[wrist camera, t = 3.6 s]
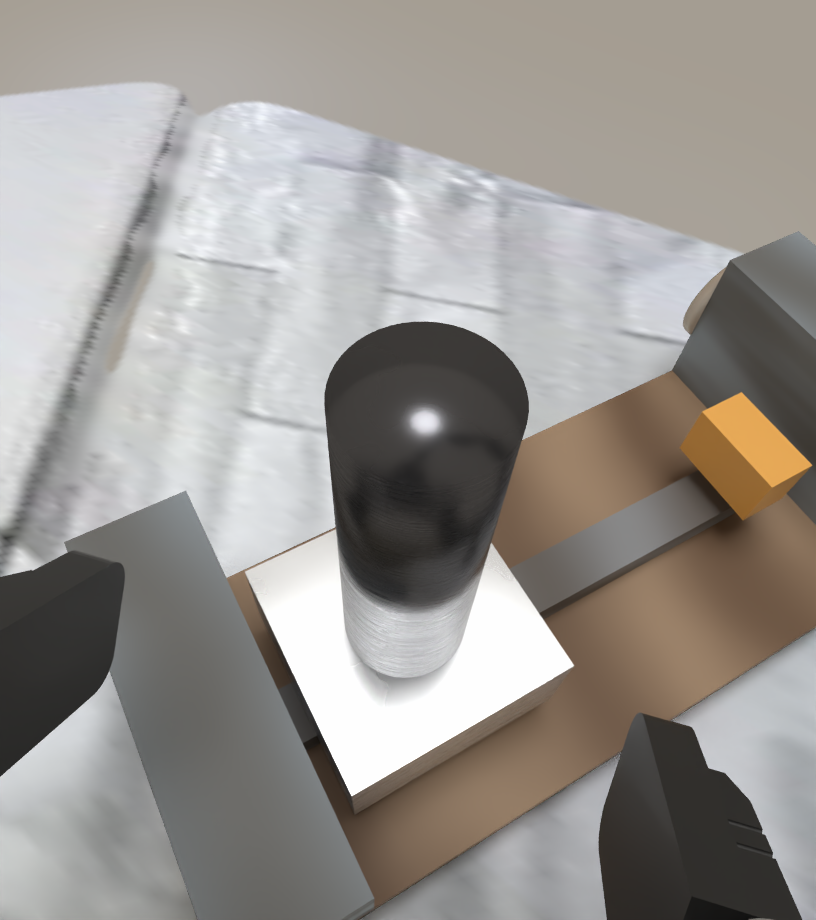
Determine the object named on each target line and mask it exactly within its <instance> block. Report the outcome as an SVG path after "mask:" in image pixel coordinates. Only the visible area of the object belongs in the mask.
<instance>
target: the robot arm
mask: <svg viewBox="0 0 816 920" xmlns="http://www.w3.org/2000/svg"><path fill="white" fill-rule="evenodd" d="M124 583H125V571H124V567H123V565H122V564H121V563H119V562H115V561H112V560H108V559H105V558H101V557H98V556H94V555H91V554H87V553H84V552H80V551H76V550H74V551H70V552H68V553H66V554H64V555H62V556H60V557H58V558H57V559H55V560H53V561H51V562H49V563H47V564H45V565H43V566H41V567H39V568H37V569H35V570H34V571H32V570H30V571H25V572H21V573H16V574H12V575H8V576H3V577H0V776H1V775H3V774H4V773H5V772H6V771H7V770H8V769H9V768H11V767H12V766H13V765H14V764H15V763H16V762H17V761H19V760H20V759H21V758H22V757H23V756H24V755H25V754H27V753H28V752H29V751H30V750H31V749H32V748H33V747H35V746H36V745H37V744H38V743H39V742H40V741H41V740H43V739H44V738H45V737H46V736H47V735H48V734H49V733H51V732H52V731H53V730H54V729H55V728H56V727H57V726H59V725H60V724H61V723H62V722H63V721H64V720H65V719H67V718H68V717H69V716H70V715H71V714H72V713H73V712H75V711H76V710H77V709H78V708H79V707H80V706H81V705H83V704H84V703H85V702H86V701H87V700H88V699H89V698H91V697H92V696H93V695H94V694H95V693H96V692H97V690H98V689H99V688H100V687H101V685H102V684H103V682H104V680H105V678H106V676H107V674H108V672H109V670H110V667H111V664H112V661H113V657H114V652H115V645H116V638H117V631H118V624H119V618H120V611H121V604H122V597H123V590H124ZM762 830H763V829H762V827H761V824H760V822H759V820H758V818H757V815H756V813H755V811H754V809H753V806H752V804H751V802H750V800H749V799H748V798H747V797H746V796H745V795H744V794H743V793H742V792H741V790H740V789H739V788H738V787H737V786H736V785H735V784H734V783H733V782H732V781H731V779H730V778H729V777H728V776H727V775H726V774H725V773H723V772H719V771H716V770H712V769H709V768H708V766H707V764H706V761H705V758H704V756H703V753H702V751H701V748H700V745H699V743H698V740H697V737H696V735H695V732H694V730H693V729H692V727H689V726H686V725H682V724H679V723H675V722H672V721H668V720H665V719H661V718H658V717H654V716H651V715H647V714H644V713H638V714H636V716H635V717H634V719H633V721H632V723H631V725H630V728H629V731H628V734H627V737H626V740H625V743H624V746H623V749H622V753H621V756H620V759H619V762H618V765H617V768H616V771H615V774H614V777H613V780H612V783H611V786H610V789H609V792H608V795H607V798H606V802H605V805H604V809H603V813H602V818H601V823H600V831H599V856H600V865H601V873H602V882H603V890H604V899H605V907H606V915H607V920H802V918H801V916H800V913H799V911H798V909H797V907H796V904H795V902H794V900H793V898H792V895H791V893H790V891H789V888H788V886H787V884H786V882H785V879H784V877H783V875H782V872H781V870H780V868H779V866H778V863H777V861H776V859H773V858H772V855H773V852H772V850H771V847H770V845H769V843H768V840H767V838H766V836H765V835H763V834H762Z"/></svg>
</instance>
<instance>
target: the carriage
mask: <svg viewBox="0 0 816 920" xmlns="http://www.w3.org/2000/svg"><path fill="white" fill-rule="evenodd" d="M528 413H529V401H528V395H527V390H526V387H525V384H524V381H523V379H522V377H521V375H520V373H519V371H518V369H517V368H516V367H515V365H514V364H513V362H512V361H511V360H510V359H509V358H508V357H507V356H506V354H505V353H504V352H502V351H501V350H500V349H499V348H498V347H497V346H496V345H494V344H493V343H491V342H490V341H488V340H487V339H485V338H483V337H481V336H479V335H478V334H476V333H473V332H471V331H469V330H466V329H464V328H460V327H457V326H453V325H449V324H443V323H436V322H409V323H401V324H396V325H392V326H388V327H385V328H382V329H379V330H377V331H375V332H372V333H370V334H368V335H366V336H365V337H363V338H361V339H360V340H358V341H357V342H356V343H354V344H353V345H352V346H351V347H349V348H348V349H347V350H346V351H345V352H344V353H343V354H342V355H341V357H340V358H339V360H338V361H337V362H336V364H335V365H334V367H333V369H332V371H331V373H330V375H329V378H328V381H327V384H326V389H325V416H326V427H327V438H328V449H329V459H330V470H331V481H332V492H333V503H334V514H335V525H336V529H335V530H333V531H331V532H329V533H326V534H324V535H322V536H320V537H318V538H316V539H314V540H311V541H309V542H307V543H305V544H303V545H301V546H299V547H296V548H294V549H292V550H290V551H288V552H286V553H284V554H281V555H279V556H277V557H275V558H273V559H271V560H269V561H266V562H264V563H262V564H260V565H258V566H256V567H254V568H251V569H249V570H247V571H245V574H246V577H247V580H248V583H249V586H250V588H251V591H252V594H253V597H254V600H255V603H256V606H257V608H258V611H259V614H260V616H261V618H262V620H263V623H264V625H265V627H266V629H267V631H268V633H269V635H270V637H271V639H272V642H273V644H274V646H275V648H276V650H277V652H278V654H279V656H280V658H281V661H282V663H283V665H284V667H285V669H286V671H287V673H288V675H289V677H290V680H291V682H292V684H293V686H294V688H295V690H296V692H297V694H298V696H299V699H300V701H301V703H302V705H303V707H304V709H305V711H306V713H307V715H308V717H309V720H310V722H311V724H312V726H313V728H314V730H315V732H316V734H317V736H318V739H319V741H320V743H321V745H322V747H323V749H324V751H325V753H326V755H327V758H328V760H329V762H330V764H331V766H332V768H333V770H334V772H335V774H336V777H337V779H338V781H339V783H340V785H341V787H342V789H343V791H344V793H345V796H346V798H347V800H348V802H349V804H350V806H351V808H352V810H353V812H354V814H357V813H358V812H360V811H362V810H364V809H365V808H367V807H369V806H370V805H372V804H374V803H375V802H377V801H379V800H380V799H382V798H384V797H385V796H387V795H389V794H391V793H392V792H394V791H396V790H397V789H399V788H401V787H402V786H404V785H406V784H407V783H409V782H411V781H412V780H414V779H416V778H417V777H419V776H421V775H423V774H424V773H426V772H428V771H429V770H431V769H433V768H434V767H436V766H438V765H439V764H441V763H443V762H444V761H446V760H448V759H450V758H451V757H453V756H455V755H456V754H458V753H460V752H461V751H463V750H465V749H466V748H468V747H470V746H471V745H473V744H475V743H476V742H478V741H480V740H482V739H483V738H485V737H487V736H488V735H490V734H492V733H493V732H495V731H497V730H498V729H500V728H502V727H503V726H505V725H507V724H509V723H510V722H512V721H514V720H515V719H517V718H519V717H520V716H522V715H524V714H525V713H527V712H529V711H530V710H532V709H534V708H535V707H537V706H539V705H541V704H542V703H544V702H546V701H547V700H549V699H550V698H551V697H552V695H553V694H554V693H555V691H556V690H557V689H558V687H559V686H560V684H561V683H562V682H563V680H564V679H565V678H566V676H567V675H568V674H569V672H570V671H571V670H572V668H573V667H574V665H573V663H572V662H571V660H570V659H569V657H568V656H567V654H566V653H565V651H564V650H563V648H562V647H561V645H560V644H559V642H558V641H557V639H556V638H555V636H554V635H553V633H552V632H551V630H550V629H549V628H548V626H547V625H546V623H545V622H544V620H543V619H542V617H541V616H540V614H539V613H538V611H537V610H536V608H535V607H534V605H533V604H532V602H531V601H530V599H529V598H528V596H527V595H526V593H525V592H524V590H523V589H522V587H521V586H520V584H519V583H518V581H517V580H516V579H515V577H514V576H513V574H512V573H511V571H510V570H509V568H508V567H507V565H506V564H505V562H504V561H503V559H502V558H501V556H500V555H499V553H498V552H497V550H496V549H495V547H494V546H493V544H492V543H491V542H492V539H493V535H494V532H495V529H496V525H497V522H498V518H499V515H500V512H501V508H502V505H503V502H504V498H505V495H506V492H507V488H508V485H509V482H510V478H511V475H512V472H513V468H514V465H515V462H516V458H517V455H518V451H519V448H520V445H521V441H522V438H523V435H524V431H525V428H526V425H527V420H528Z"/></svg>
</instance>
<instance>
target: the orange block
mask: <svg viewBox="0 0 816 920" xmlns="http://www.w3.org/2000/svg"><path fill="white" fill-rule="evenodd" d="M680 449H681V450H682V451H683V453H684V454H685V455H686V456H687V457H688V458H689V459H690V461H691V462H692V463H693V464H694V465H695V466H696V467H697V469H698V470H699V471H700V472H701V473H702V474H703V475H704V477H705V478H706V479H707V480H708V481H709V482H710V483H711V485H712V486H713V487H714V488H715V489H716V490H717V491H718V493H719V494H720V495H721V496H722V497H723V498H724V499H725V501H726V502H727V503H728V504H729V505H730V506H731V507H732V509H733V510H734V511H735V512H736V513H737V514H738V515H739V517H740V518H741V519H742V520H745V519H747V518H748V517H750V516H752V515H754V514H756V513H757V512H759V511H761V510H763V509H764V508H766V507H768V506H770V505H772V504H773V503H775V502H777V501H779V500H780V499H782V498H783V497H784V496H785V494H786V493H787V492H788V491H789V490H790V489H791V488H792V487H793V486H794V485H795V484H796V483H797V482H798V480H799V479H800V478H801V477H802V476H803V475H804V474H805V473H806V472H807V471H808V470H809V469H810V468H811V466H812V464H811V463H810V462H809V461H808V460H807V459H806V458H805V457H804V456H803V455H802V454H801V453H800V452H799V451H798V450H797V449H796V448H795V447H794V446H793V445H792V444H791V443H790V442H789V441H788V439H787V438H786V437H785V436H784V435H783V434H782V433H781V432H780V431H779V430H778V429H777V428H776V427H775V426H774V425H773V424H772V423H771V422H770V421H769V420H768V419H767V418H766V417H765V416H764V415H763V414H762V413H761V412H760V411H759V410H758V409H757V408H756V406H755V405H754V404H753V403H752V402H751V401H750V400H749V399H748V398H747V397H746V396H745V395H744V394H743V393H742V392H741V393H739V394H737V395H735V396H733V397H731V398H729V399H727V400H725V401H723V402H721V403H719V404H717V405H714V406H712V407H710V408H708V409H706V410H704V411H702V413H701V414H700V416H699V417H698V419H697V421H696V422H695V424H694V425H693V427H692V429H691V430H690V432H689V433H688V435H687V437H686V438H685V440H684V441H683V443H682V445H681V446H680Z"/></svg>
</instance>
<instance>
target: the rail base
mask: <svg viewBox="0 0 816 920" xmlns="http://www.w3.org/2000/svg"><path fill="white" fill-rule="evenodd" d="M683 327H684V329H685V330H686V331H687V332H688V333H689V334H690V335H691V336H690V338H689V339H688V341H687V343H686V345H685V347H684V349H683V351H682V353H681V355H680V356H679V358H678V360H677V362H676V364H675V366H674V368H673V370H672V371H670V372H668V373H666V374H664V375H661V376H659V377H657V378H655V379H653V380H651V381H649V382H646V383H644V384H642V385H640V386H638V387H636V388H633V389H631V390H629V391H627V392H625V393H623V394H621V395H618V396H616V397H614V398H612V399H610V400H608V401H606V402H603V403H601V404H599V405H597V406H595V407H593V408H591V409H588V410H586V411H584V412H582V413H580V414H578V415H576V416H573V417H571V418H569V419H567V420H565V421H563V422H561V423H558V424H556V425H554V426H552V427H550V428H548V429H546V430H543V431H541V432H539V433H537V434H535V435H533V436H530V437H528V438H526V439H524V440H522V441H521V445H520V448H519V451H518V455H517V458H516V462H515V465H514V468H513V472H512V475H511V478H510V482H509V485H508V488H507V492H506V495H505V498H504V502H503V505H502V508H501V512H500V515H499V518H498V522H497V525H496V529H495V532H494V535H493V539H492V542H491V543H492V544H493V546H494V547H495V549H496V550H497V552H498V553H499V555H500V556H501V558H502V559H503V561H504V562H505V564H506V565H507V567H508V568H509V570H510V571H511V573H512V574H513V576H514V577H515V579H516V580H517V581H518V583H519V584H520V586H521V587H522V589H523V590H524V592H525V593H526V595H527V596H528V598H529V599H530V601H531V602H532V604H533V605H534V607H535V608H536V610H537V611H538V613H539V614H540V616H541V617H542V619H543V620H544V622H545V623H546V625H547V626H548V628H549V629H550V630H551V632H552V633H553V635H554V636H555V638H556V639H557V641H558V642H559V644H560V645H561V647H562V648H563V650H564V651H565V653H566V654H567V656H568V657H569V659H570V660H571V662H572V663H573V665H574V667H573V668H572V670H571V671H570V672H569V674H568V675H567V676H566V678H565V679H564V680H563V682H562V683H561V684H560V686H559V687H558V689H557V690H556V691H555V693H554V694H553V695H552V697H551V698H550V699H549V700H547V701H546V702H544V703H542V704H541V705H539V706H537V707H535V708H534V709H532V710H530V711H529V712H527V713H525V714H524V715H522V716H520V717H519V718H517V719H515V720H514V721H512V722H510V723H509V724H507V725H505V726H503V727H502V728H500V729H498V730H497V731H495V732H493V733H492V734H490V735H488V736H487V737H485V738H483V739H482V740H480V741H478V742H476V743H475V744H473V745H471V746H470V747H468V748H466V749H465V750H463V751H461V752H460V753H458V754H456V755H455V756H453V757H451V758H450V759H448V760H446V761H444V762H443V763H441V764H439V765H438V766H436V767H434V768H433V769H431V770H429V771H428V772H426V773H424V774H423V775H421V776H419V777H417V778H416V779H414V780H412V781H411V782H409V783H407V784H406V785H404V786H402V787H401V788H399V789H397V790H396V791H394V792H392V793H391V794H389V795H387V796H385V797H384V798H382V799H380V800H379V801H377V802H375V803H374V804H372V805H370V806H369V807H367V808H365V809H364V810H362V811H360V812H358V813H357V814H354V812H353V810H352V808H351V806H350V804H349V802H348V800H347V798H346V796H345V793H344V791H343V789H342V787H341V785H340V783H339V781H338V779H337V777H336V774H335V772H334V770H333V768H332V766H331V764H330V762H329V760H328V758H327V755H326V753H325V751H324V749H323V747H322V745H321V743H320V741H319V739H318V736H317V734H316V732H315V730H314V728H313V726H312V724H311V722H310V720H309V717H308V715H307V713H306V711H305V709H304V707H303V705H302V703H301V701H300V699H299V696H298V694H297V692H296V690H295V688H294V686H293V684H292V682H291V680H290V677H289V675H288V673H287V671H286V669H285V667H284V665H283V663H282V661H281V658H280V656H279V654H278V652H277V650H276V648H275V646H274V644H273V642H272V639H271V637H270V635H269V633H268V631H267V629H266V627H265V625H264V623H263V620H262V618H261V616H260V614H259V611H258V608H257V606H256V603H255V600H254V597H253V594H252V591H251V588H250V586H249V583H248V580H247V577H246V574H245V571H247V570H249V569H251V568H254V567H256V566H258V565H260V564H262V563H264V562H266V561H269V560H271V559H273V558H275V557H277V556H279V555H281V554H284V553H286V552H288V551H290V550H292V549H294V548H296V547H299V546H301V545H303V544H305V543H307V542H309V541H311V540H314V539H316V538H318V537H320V536H322V535H324V534H326V533H329V532H331V531H333V530H335V529H336V527H335V528H333V529H331V530H329V531H327V532H324V533H322V534H320V535H318V536H316V537H314V538H312V539H309V540H307V541H305V542H303V543H301V544H299V545H297V546H294V547H292V548H290V549H288V550H286V551H284V552H282V553H279V554H277V555H275V556H273V557H271V558H269V559H267V560H264V561H262V562H260V563H258V564H256V565H254V566H252V567H249V568H247V569H245V570H243V571H241V572H239V573H236V574H234V575H232V576H230V577H228V578H226V576H225V574H224V572H223V570H222V568H221V566H220V563H219V561H218V559H217V557H216V555H215V553H214V551H213V548H212V546H211V544H210V542H209V540H208V538H207V535H206V533H205V531H204V529H203V527H202V525H201V522H200V520H199V518H198V516H197V514H196V512H195V509H194V507H193V505H192V503H191V501H190V499H189V496H188V494H187V492H186V491H184V492H182V493H179V494H177V495H175V496H172V497H170V498H168V499H165V500H163V501H161V502H158V503H156V504H153V505H151V506H149V507H146V508H144V509H142V510H139V511H137V512H135V513H132V514H130V515H127V516H125V517H123V518H120V519H118V520H116V521H113V522H111V523H109V524H106V525H104V526H102V527H99V528H97V529H94V530H92V531H90V532H87V533H85V534H83V535H80V536H78V537H76V538H73V539H71V540H68V541H66V542H64V543H65V546H66V549H67V551H68V552H70V551H74V550H76V551H80V552H84V553H87V554H91V555H94V556H98V557H101V558H105V559H108V560H112V561H115V562H119V563H121V564H122V565H123V567H124V571H125V583H124V590H123V597H122V604H121V611H120V618H119V624H118V631H117V638H116V645H115V652H114V657H113V661H112V664H111V667H110V673H111V676H112V679H113V682H114V684H115V687H116V690H117V693H118V696H119V699H120V701H121V704H122V707H123V710H124V713H125V716H126V718H127V721H128V724H129V727H130V730H131V732H132V735H133V738H134V741H135V744H136V747H137V749H138V752H139V755H140V758H141V761H142V764H143V766H144V769H145V772H146V775H147V778H148V781H149V783H150V786H151V789H152V792H153V795H154V798H155V800H156V803H157V806H158V809H159V812H160V815H161V817H162V820H163V823H164V826H165V829H166V832H167V834H168V837H169V840H170V843H171V846H172V848H173V851H174V854H175V857H176V860H177V863H178V865H179V868H180V871H181V874H182V877H183V880H184V882H185V885H186V888H187V891H188V894H189V897H190V899H191V902H192V905H193V908H194V911H195V914H196V916H197V919H198V920H359V919H361V918H362V917H364V916H365V915H367V914H369V913H370V912H372V911H373V910H375V909H376V908H378V907H380V906H381V905H383V904H384V903H386V902H387V901H389V900H390V899H392V898H394V897H395V896H397V895H398V894H400V893H401V892H403V891H405V890H406V889H408V888H409V887H411V886H412V885H414V884H416V883H417V882H419V881H420V880H422V879H423V878H425V877H426V876H428V875H430V874H431V873H433V872H434V871H436V870H437V869H439V868H441V867H442V866H444V865H445V864H447V863H448V862H450V861H451V860H453V859H455V858H456V857H458V856H459V855H461V854H462V853H464V852H466V851H467V850H469V849H470V848H472V847H473V846H475V845H477V844H478V843H480V842H481V841H483V840H484V839H486V838H487V837H489V836H491V835H492V834H494V833H495V832H497V831H498V830H500V829H502V828H503V827H505V826H506V825H508V824H509V823H511V822H512V821H514V820H516V819H517V818H519V817H520V816H522V815H523V814H525V813H527V812H528V811H530V810H531V809H533V808H534V807H536V806H538V805H539V804H541V803H542V802H544V801H545V800H547V799H548V798H550V797H552V796H553V795H555V794H556V793H558V792H559V791H561V790H563V789H564V788H566V787H567V786H569V785H570V784H572V783H573V782H575V781H577V780H578V779H580V778H581V777H583V776H584V775H586V774H588V773H589V772H591V771H592V770H594V769H595V768H597V767H599V766H600V765H602V764H603V763H605V762H606V761H608V760H609V759H611V758H613V757H614V756H616V755H617V754H619V753H620V752H622V749H623V746H624V743H625V740H626V737H627V734H628V731H629V728H630V725H631V723H632V721H633V719H634V717H635V716H636V714H638V713H644V714H647V715H651V716H654V717H658V718H661V719H665V720H668V721H670V720H672V719H674V718H675V717H677V716H678V715H680V714H681V713H683V712H685V711H686V710H688V709H689V708H691V707H692V706H694V705H696V704H697V703H699V702H700V701H702V700H703V699H705V698H706V697H708V696H710V695H711V694H713V693H714V692H716V691H717V690H719V689H721V688H722V687H724V686H725V685H727V684H728V683H730V682H731V681H733V680H735V679H736V678H738V677H739V676H741V675H742V674H744V673H746V672H747V671H749V670H750V669H752V668H753V667H755V666H757V665H758V664H760V663H761V662H763V661H764V660H766V659H767V658H769V657H771V656H772V655H774V654H775V653H777V652H778V651H780V650H782V649H783V648H785V647H786V646H788V645H789V644H791V643H792V642H794V641H796V640H797V639H799V638H800V637H802V636H803V635H805V634H807V633H808V632H810V631H811V630H813V629H814V628H816V246H815V245H814V244H813V243H812V242H811V241H809V240H808V239H807V238H806V237H805V236H804V235H802V234H801V233H800V232H799V231H798V232H796V233H793V234H791V235H789V236H786V237H784V238H782V239H779V240H777V241H775V242H772V243H770V244H768V245H765V246H763V247H760V248H758V249H756V250H753V251H751V252H749V253H746V254H744V255H741V256H739V257H737V258H734V259H732V260H730V262H729V263H728V265H727V267H726V268H724V269H723V270H722V271H720V272H719V273H718V274H717V275H716V276H715V277H714V278H712V279H711V280H710V281H709V282H708V283H707V284H706V285H705V286H704V288H703V289H702V290H701V291H700V292H699V293H698V295H697V296H696V297H695V299H694V300H693V301H692V303H691V304H690V306H689V308H688V310H687V312H686V314H685V317H684V320H683ZM741 392H742V393H743V394H744V395H745V396H746V397H747V398H748V399H749V400H750V401H751V402H752V403H753V404H754V405H755V406H756V408H757V409H758V410H759V411H760V412H761V413H762V414H763V415H764V416H765V417H766V418H767V419H768V420H769V421H770V422H771V423H772V424H773V425H774V426H775V427H776V428H777V429H778V430H779V431H780V432H781V433H782V434H783V435H784V436H785V437H786V438H787V439H788V441H789V442H790V443H791V444H792V445H793V446H794V447H795V448H796V449H797V450H798V451H799V452H800V453H801V454H802V455H803V456H804V457H805V458H806V459H807V460H808V461H809V462H810V463H811V464H812V466H811V468H810V469H809V470H808V471H807V472H806V473H805V474H804V475H803V476H802V477H801V478H800V479H799V480H798V482H797V483H796V484H795V485H794V486H793V487H792V488H791V489H790V490H789V491H788V492H787V493H786V494H785V496H784V497H783V498H782V499H780V500H779V501H777V502H775V503H773V504H772V505H770V506H768V507H766V508H764V509H763V510H761V511H759V512H757V513H756V514H754V515H752V516H750V517H748V518H747V519H745V520H742V519H741V518H740V517H739V515H738V514H737V513H736V512H735V511H734V510H733V509H732V507H731V506H730V505H729V504H728V503H727V502H726V501H725V499H724V498H723V497H722V496H721V495H720V494H719V493H718V491H717V490H716V489H715V488H714V487H713V486H712V485H711V483H710V482H709V481H708V480H707V479H706V478H705V477H704V475H703V474H702V473H701V472H700V471H699V470H698V469H697V467H696V466H695V465H694V464H693V463H692V462H691V461H690V459H689V458H688V457H687V456H686V455H685V454H684V453H683V451H682V450H681V449H680V446H681V445H682V443H683V441H684V440H685V438H686V437H687V435H688V433H689V432H690V430H691V429H692V427H693V425H694V424H695V422H696V421H697V419H698V417H699V416H700V414H701V413H702V411H704V410H706V409H708V408H710V407H712V406H714V405H717V404H719V403H721V402H723V401H725V400H727V399H729V398H731V397H733V396H735V395H737V394H739V393H741Z"/></svg>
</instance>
